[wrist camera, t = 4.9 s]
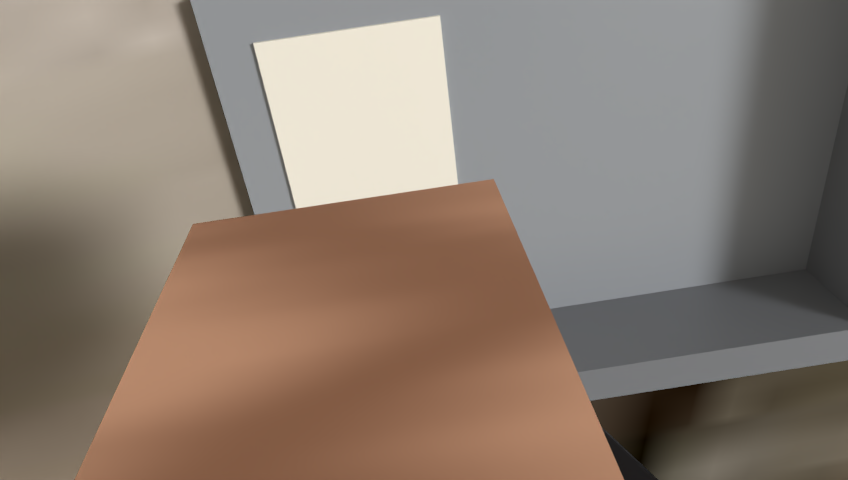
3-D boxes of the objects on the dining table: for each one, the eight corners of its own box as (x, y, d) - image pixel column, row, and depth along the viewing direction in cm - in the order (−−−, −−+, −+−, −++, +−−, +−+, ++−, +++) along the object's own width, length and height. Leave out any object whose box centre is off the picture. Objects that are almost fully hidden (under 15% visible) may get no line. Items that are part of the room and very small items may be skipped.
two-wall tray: (826, 286, 22) (899, 352, 19) (303, 367, 21) (295, 446, 18) (927, -113, 15) (1059, -108, 13) (193, -5, 15) (154, 26, 12)
